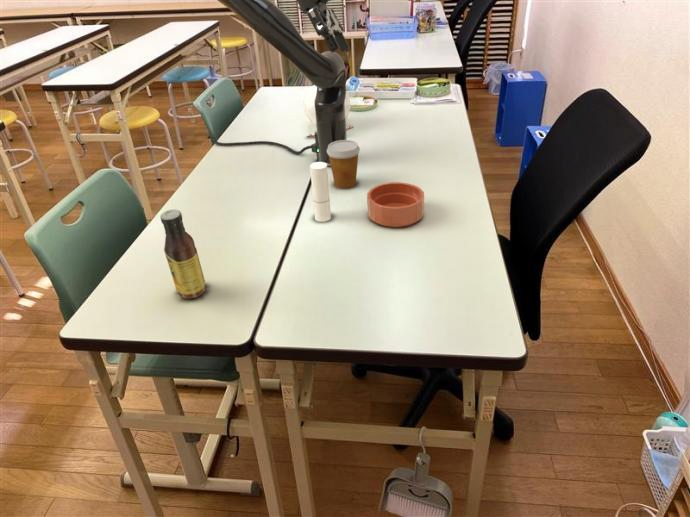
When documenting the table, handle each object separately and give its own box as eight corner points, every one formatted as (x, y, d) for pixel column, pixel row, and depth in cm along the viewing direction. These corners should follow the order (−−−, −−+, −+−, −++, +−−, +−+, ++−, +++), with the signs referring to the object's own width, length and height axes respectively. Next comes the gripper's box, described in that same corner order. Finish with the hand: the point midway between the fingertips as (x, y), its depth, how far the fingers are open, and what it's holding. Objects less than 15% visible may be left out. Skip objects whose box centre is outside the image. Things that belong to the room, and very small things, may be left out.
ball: (352, 98, 201) (340, 50, 180) (359, 150, 190) (346, 106, 169) (309, 107, 203) (291, 61, 182) (313, 159, 192) (295, 116, 171)
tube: (329, 222, 136) (324, 169, 127) (313, 221, 137) (308, 168, 128) (332, 214, 139) (328, 162, 131) (317, 213, 140) (312, 161, 132)
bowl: (356, 218, 137) (355, 198, 133) (389, 197, 146) (388, 177, 142) (402, 235, 129) (403, 213, 125) (433, 211, 138) (434, 191, 134)
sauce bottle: (180, 284, 116) (158, 206, 105) (208, 282, 116) (189, 203, 105) (175, 302, 111) (150, 222, 100) (204, 300, 111) (183, 219, 100)
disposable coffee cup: (366, 179, 156) (364, 141, 149) (353, 193, 149) (351, 153, 142) (337, 175, 159) (335, 137, 153) (323, 188, 152) (320, 149, 146)
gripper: (305, -1, 132) (337, 57, 135) (284, -6, 119) (319, 59, 123) (329, -19, 129) (361, 41, 132) (309, -26, 116) (345, 42, 119)
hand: (341, 50), depth 127 cm, fingers open, 8 cm apart
